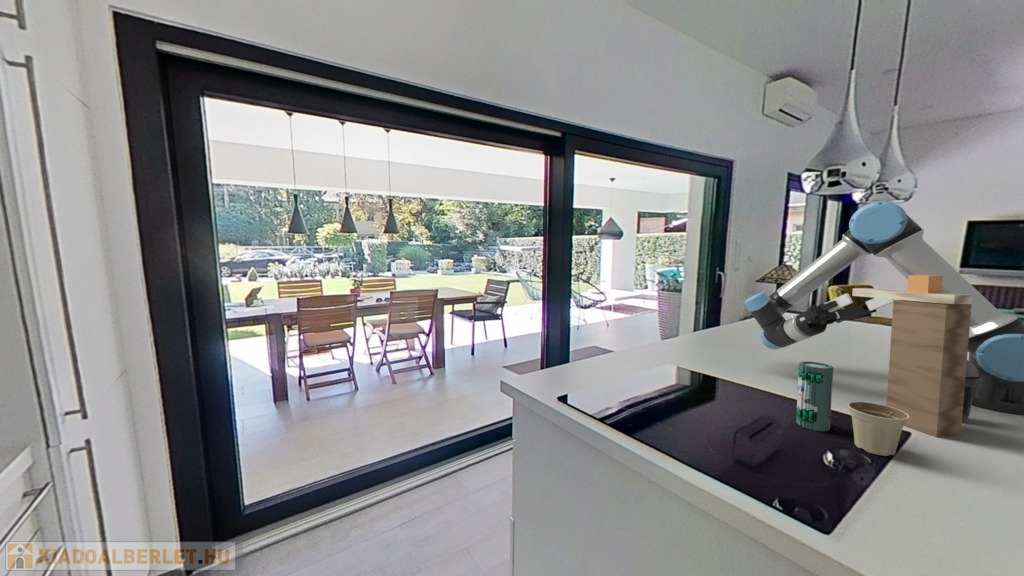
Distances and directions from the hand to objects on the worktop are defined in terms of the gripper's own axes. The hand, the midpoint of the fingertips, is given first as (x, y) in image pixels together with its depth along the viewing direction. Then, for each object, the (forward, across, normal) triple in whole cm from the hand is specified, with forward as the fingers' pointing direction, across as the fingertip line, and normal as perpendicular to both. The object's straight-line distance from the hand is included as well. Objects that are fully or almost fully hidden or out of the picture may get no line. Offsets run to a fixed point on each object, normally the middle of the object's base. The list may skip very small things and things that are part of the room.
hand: (871, 297), depth 100 cm
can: (-9, -25, +30) cm, 40 cm away
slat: (+7, 0, +4) cm, 8 cm away
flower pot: (+2, -23, +36) cm, 43 cm away
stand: (-4, 0, +32) cm, 32 cm away
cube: (+11, 0, +4) cm, 11 cm away
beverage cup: (-6, +13, +31) cm, 35 cm away
